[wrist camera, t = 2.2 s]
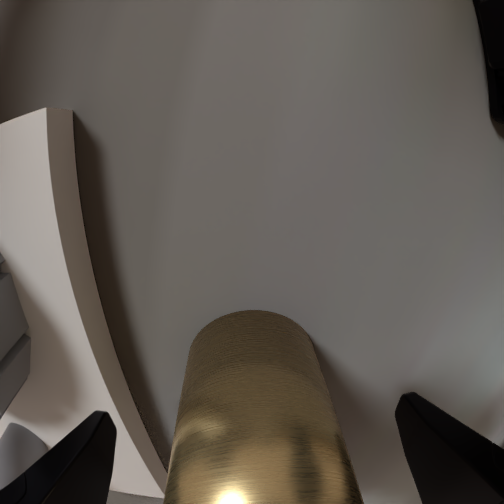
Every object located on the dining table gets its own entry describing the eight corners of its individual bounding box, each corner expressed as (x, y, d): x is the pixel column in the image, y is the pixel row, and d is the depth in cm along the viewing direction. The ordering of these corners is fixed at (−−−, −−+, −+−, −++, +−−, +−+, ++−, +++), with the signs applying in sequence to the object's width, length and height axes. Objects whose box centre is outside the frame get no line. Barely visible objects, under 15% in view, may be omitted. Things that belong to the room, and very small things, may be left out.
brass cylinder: (318, 305, 10) (416, 545, 2) (309, 399, 11) (353, 581, 4) (179, 313, 10) (118, 566, 2) (198, 406, 11) (182, 592, 4)
